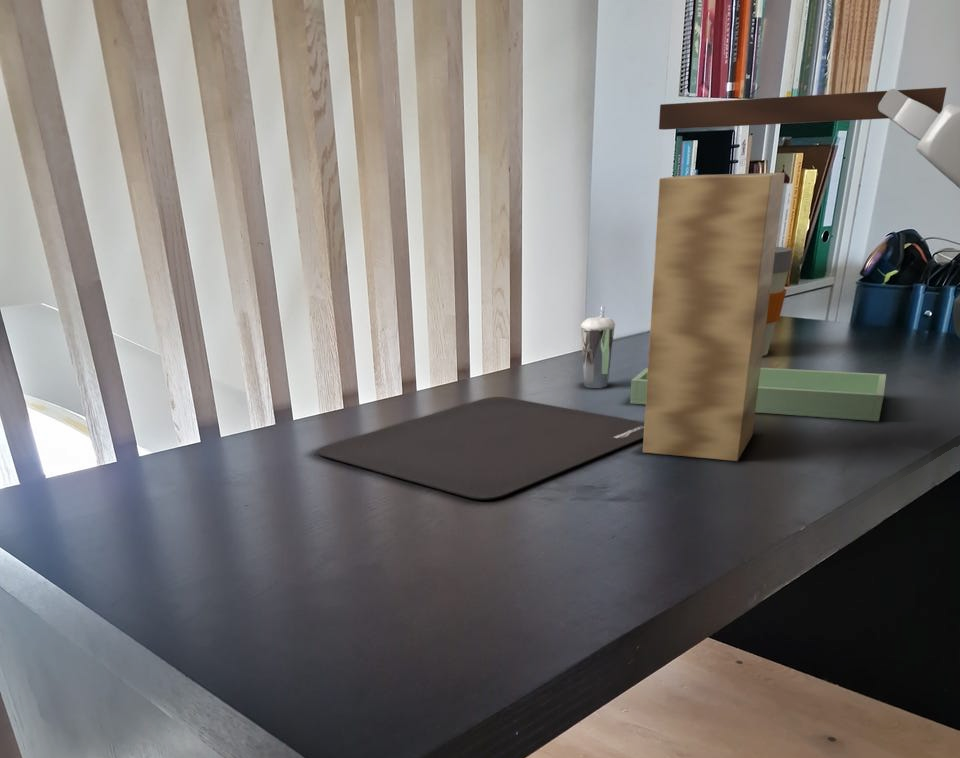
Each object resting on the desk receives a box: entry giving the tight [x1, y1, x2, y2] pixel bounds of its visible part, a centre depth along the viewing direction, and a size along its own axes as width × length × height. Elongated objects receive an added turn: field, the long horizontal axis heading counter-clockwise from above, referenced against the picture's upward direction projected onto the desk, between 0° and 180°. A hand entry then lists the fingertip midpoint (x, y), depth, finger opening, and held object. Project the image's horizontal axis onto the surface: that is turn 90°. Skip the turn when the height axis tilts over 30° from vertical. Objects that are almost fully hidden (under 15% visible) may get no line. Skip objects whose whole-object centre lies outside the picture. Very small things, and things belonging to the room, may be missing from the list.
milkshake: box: [580, 306, 616, 389], centre depth 118 cm, size 4×5×10 cm
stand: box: [642, 172, 786, 462], centre depth 88 cm, size 10×10×26 cm
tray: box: [629, 366, 887, 422], centre depth 109 cm, size 30×12×3 cm, turn 66°
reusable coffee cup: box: [762, 246, 793, 357], centre depth 133 cm, size 13×13×15 cm
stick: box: [658, 86, 947, 131], centre depth 77 cm, size 24×2×2 cm, turn 67°
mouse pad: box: [316, 396, 645, 501], centre depth 97 cm, size 32×27×1 cm
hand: (883, 98), depth 74 cm, fingers closed on stick, 2 cm apart
